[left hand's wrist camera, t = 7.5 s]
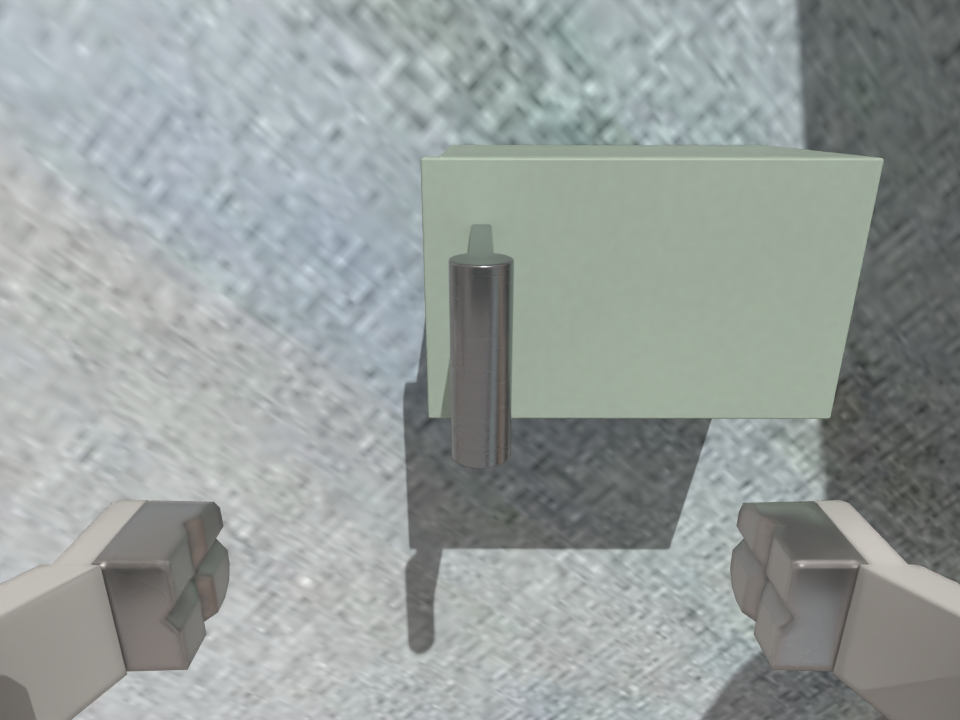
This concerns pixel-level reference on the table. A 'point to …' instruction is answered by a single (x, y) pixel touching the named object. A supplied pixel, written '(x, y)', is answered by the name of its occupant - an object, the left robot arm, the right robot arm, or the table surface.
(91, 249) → the table surface
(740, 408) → the lid
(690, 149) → the chest
